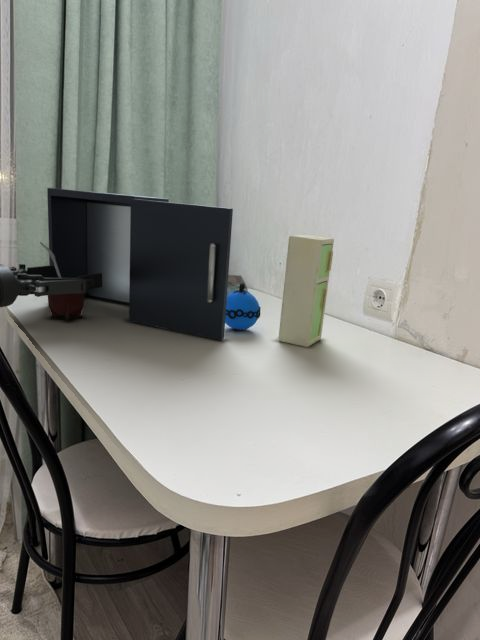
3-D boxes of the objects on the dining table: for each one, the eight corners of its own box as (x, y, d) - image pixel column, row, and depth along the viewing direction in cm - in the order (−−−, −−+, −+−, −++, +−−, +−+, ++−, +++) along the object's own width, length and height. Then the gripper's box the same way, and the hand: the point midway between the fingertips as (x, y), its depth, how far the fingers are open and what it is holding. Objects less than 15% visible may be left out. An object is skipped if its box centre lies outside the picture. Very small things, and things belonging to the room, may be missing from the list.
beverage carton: (215, 309, 125) (216, 283, 124) (212, 295, 144) (214, 272, 142) (247, 311, 127) (249, 285, 125) (240, 297, 145) (242, 274, 143)
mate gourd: (87, 321, 104) (86, 247, 99) (45, 322, 100) (42, 246, 96) (81, 313, 110) (80, 243, 106) (42, 314, 106) (39, 241, 102)
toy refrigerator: (311, 348, 99) (324, 239, 93) (277, 341, 102) (288, 235, 96) (324, 340, 106) (337, 238, 100) (292, 333, 109) (303, 234, 103)
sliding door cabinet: (40, 305, 113) (36, 187, 106) (87, 297, 126) (86, 191, 119) (217, 343, 97) (226, 205, 90) (249, 328, 110) (260, 207, 103)
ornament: (228, 322, 113) (231, 278, 111) (264, 328, 111) (268, 283, 108) (211, 330, 106) (214, 283, 103) (250, 337, 103) (254, 288, 100)
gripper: (36, 275, 81) (123, 265, 100) (-65, 256, 90) (32, 250, 109) (38, 320, 83) (123, 302, 102) (-62, 298, 92) (34, 285, 111)
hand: (76, 275), depth 106 cm, fingers open, 12 cm apart
